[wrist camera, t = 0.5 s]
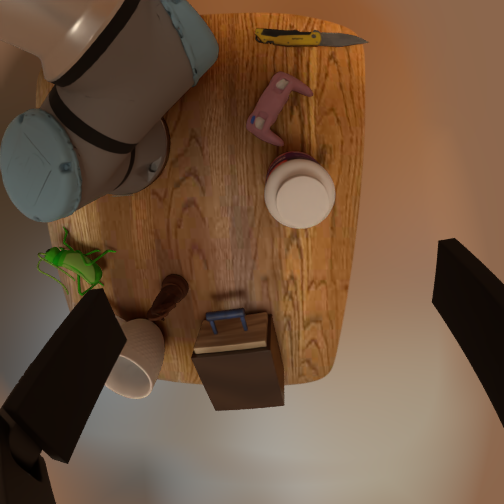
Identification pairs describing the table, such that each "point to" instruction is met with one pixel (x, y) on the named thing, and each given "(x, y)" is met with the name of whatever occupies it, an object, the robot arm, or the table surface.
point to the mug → (137, 359)
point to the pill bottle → (298, 190)
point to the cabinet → (244, 376)
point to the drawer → (231, 332)
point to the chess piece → (168, 297)
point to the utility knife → (305, 38)
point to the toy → (74, 264)
